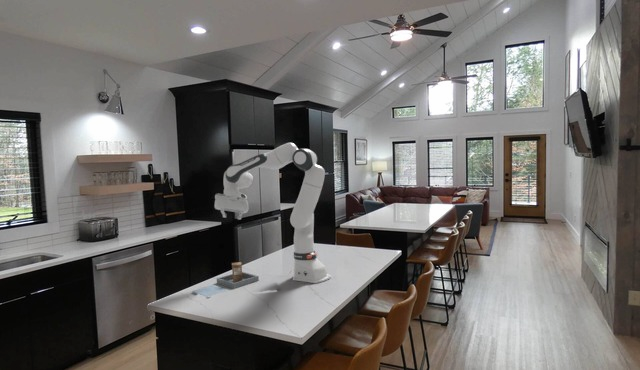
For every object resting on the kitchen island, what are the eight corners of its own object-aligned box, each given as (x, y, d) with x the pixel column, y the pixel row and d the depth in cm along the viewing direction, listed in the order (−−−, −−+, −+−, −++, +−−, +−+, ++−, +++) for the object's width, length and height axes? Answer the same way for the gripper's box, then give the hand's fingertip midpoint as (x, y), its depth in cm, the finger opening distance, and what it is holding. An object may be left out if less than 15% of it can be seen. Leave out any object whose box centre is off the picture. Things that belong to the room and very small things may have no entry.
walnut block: (242, 279, 212) (241, 262, 211) (242, 282, 207) (241, 264, 206) (233, 280, 211) (231, 263, 210) (233, 283, 206) (231, 265, 205)
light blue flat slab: (228, 291, 196) (227, 289, 196) (206, 298, 188) (206, 296, 187) (213, 286, 206) (212, 284, 206) (192, 292, 197) (192, 291, 197)
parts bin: (258, 282, 209) (258, 276, 209) (234, 290, 198) (233, 283, 198) (241, 277, 220) (241, 271, 220) (216, 284, 209) (216, 278, 208)
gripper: (217, 190, 215) (217, 214, 210) (249, 196, 228) (250, 218, 222) (212, 194, 219) (212, 217, 214) (244, 200, 232) (244, 222, 227)
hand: (232, 218), depth 218 cm, fingers open, 8 cm apart
